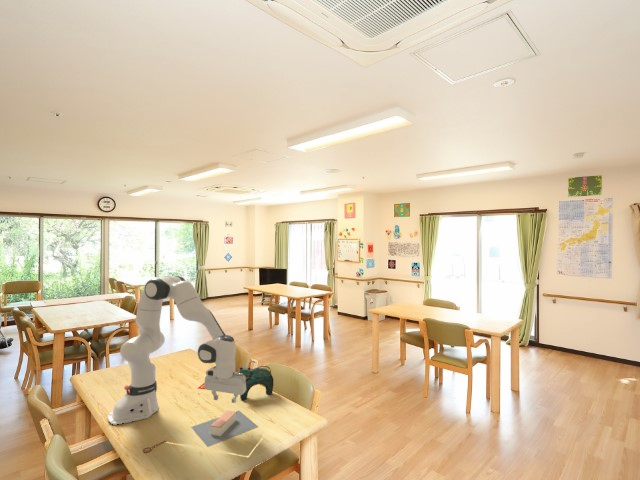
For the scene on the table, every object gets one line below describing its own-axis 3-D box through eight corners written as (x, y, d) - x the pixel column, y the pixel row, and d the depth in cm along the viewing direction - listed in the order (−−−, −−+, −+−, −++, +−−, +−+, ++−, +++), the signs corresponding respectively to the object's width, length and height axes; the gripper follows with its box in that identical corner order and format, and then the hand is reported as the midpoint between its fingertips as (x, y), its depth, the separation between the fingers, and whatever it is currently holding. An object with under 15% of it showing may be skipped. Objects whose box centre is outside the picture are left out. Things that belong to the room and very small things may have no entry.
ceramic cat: (238, 402, 182) (238, 364, 182) (236, 397, 188) (236, 361, 188) (274, 395, 190) (274, 359, 190) (271, 390, 196) (271, 356, 196)
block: (220, 426, 149) (236, 411, 162) (210, 425, 150) (227, 410, 163) (220, 436, 149) (236, 420, 162) (210, 434, 150) (227, 418, 163)
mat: (207, 448, 141) (207, 446, 141) (191, 428, 156) (191, 426, 156) (258, 428, 156) (258, 426, 156) (238, 411, 171) (238, 410, 171)
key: (172, 434, 153) (138, 450, 140) (172, 432, 153) (138, 448, 141) (180, 437, 149) (145, 454, 137) (180, 435, 149) (145, 452, 137)
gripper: (248, 371, 158) (248, 401, 158) (210, 366, 163) (209, 395, 163) (242, 376, 152) (241, 407, 152) (202, 371, 157) (202, 400, 157)
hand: (224, 401), depth 158 cm, fingers open, 8 cm apart
